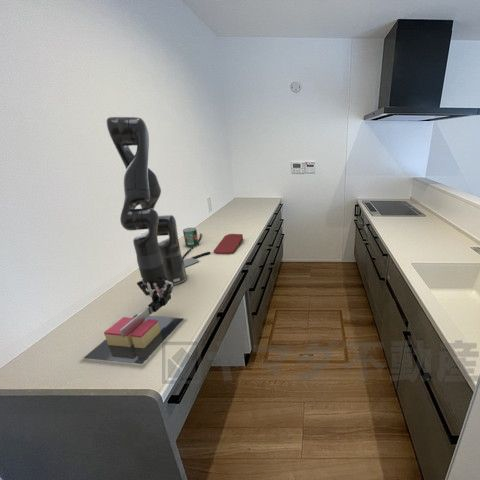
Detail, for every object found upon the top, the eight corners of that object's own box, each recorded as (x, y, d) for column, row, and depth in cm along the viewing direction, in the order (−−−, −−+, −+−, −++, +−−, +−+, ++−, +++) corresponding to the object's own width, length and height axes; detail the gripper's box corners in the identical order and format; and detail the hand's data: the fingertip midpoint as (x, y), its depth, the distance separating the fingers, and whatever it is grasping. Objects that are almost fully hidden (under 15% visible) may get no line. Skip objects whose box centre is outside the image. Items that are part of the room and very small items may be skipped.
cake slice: (151, 331, 94) (148, 319, 92) (160, 331, 94) (157, 319, 92) (134, 347, 87) (130, 334, 85) (144, 348, 86) (140, 335, 84)
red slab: (233, 259, 161) (245, 239, 183) (232, 252, 159) (244, 232, 180) (214, 258, 161) (228, 238, 183) (212, 251, 159) (227, 232, 181)
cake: (126, 328, 95) (123, 317, 93) (147, 330, 94) (144, 318, 92) (108, 345, 88) (103, 332, 86) (130, 347, 87) (126, 334, 85)
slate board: (136, 316, 103) (135, 314, 103) (184, 320, 101) (184, 318, 101) (84, 360, 83) (83, 358, 82) (143, 366, 81) (142, 364, 80)
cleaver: (217, 256, 156) (208, 251, 162) (217, 255, 156) (208, 251, 162) (165, 274, 135) (157, 268, 140) (165, 273, 134) (157, 267, 140)
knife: (165, 297, 104) (164, 291, 103) (171, 298, 103) (169, 291, 102) (119, 337, 83) (116, 329, 82) (126, 338, 83) (124, 330, 81)
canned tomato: (184, 245, 172) (181, 229, 168) (196, 242, 177) (194, 226, 173) (187, 248, 166) (184, 232, 162) (200, 245, 171) (198, 229, 167)
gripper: (175, 260, 96) (184, 300, 102) (140, 258, 97) (150, 297, 104) (162, 269, 89) (171, 312, 95) (124, 267, 90) (136, 309, 97)
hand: (160, 304), depth 99 cm, fingers closed on knife, 2 cm apart
